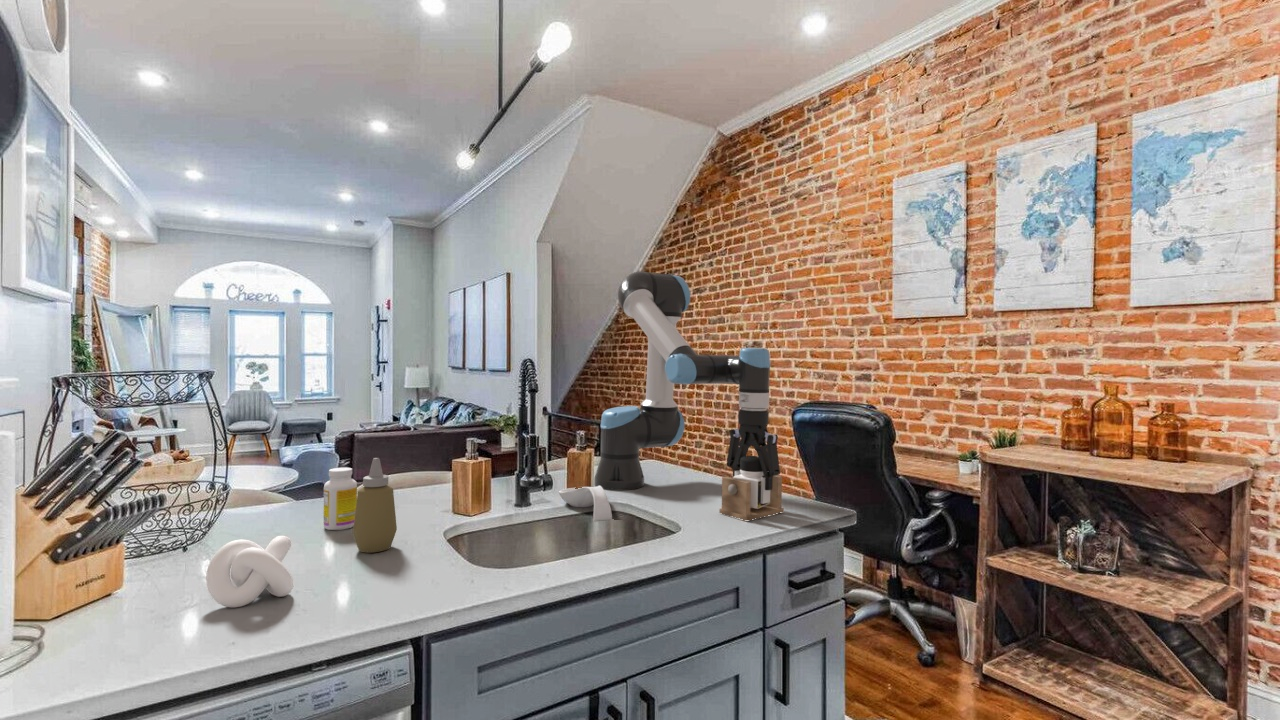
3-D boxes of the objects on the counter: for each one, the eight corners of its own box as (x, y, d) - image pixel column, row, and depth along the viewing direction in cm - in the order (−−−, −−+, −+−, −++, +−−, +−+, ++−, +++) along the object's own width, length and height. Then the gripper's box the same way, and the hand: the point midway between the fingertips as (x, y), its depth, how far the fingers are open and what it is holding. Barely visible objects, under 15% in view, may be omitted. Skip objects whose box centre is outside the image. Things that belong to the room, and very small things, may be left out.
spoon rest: (553, 501, 160) (553, 474, 160) (594, 497, 165) (595, 471, 165) (580, 524, 138) (581, 494, 138) (627, 520, 143) (627, 490, 143)
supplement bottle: (362, 523, 136) (363, 467, 136) (345, 531, 129) (346, 472, 129) (335, 521, 136) (335, 465, 136) (316, 530, 130) (317, 471, 130)
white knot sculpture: (239, 582, 100) (239, 529, 100) (314, 581, 101) (314, 529, 101) (195, 612, 89) (196, 552, 89) (280, 610, 90) (280, 551, 90)
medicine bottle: (758, 509, 145) (759, 460, 145) (732, 504, 150) (733, 456, 150) (770, 503, 151) (771, 456, 151) (745, 499, 155) (746, 453, 155)
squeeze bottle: (380, 557, 114) (381, 463, 114) (343, 553, 115) (344, 460, 115) (405, 544, 122) (406, 456, 121) (369, 541, 123) (371, 454, 123)
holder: (717, 513, 149) (718, 477, 149) (757, 505, 159) (757, 470, 158) (745, 522, 142) (746, 483, 142) (784, 512, 152) (785, 476, 151)
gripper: (713, 406, 156) (711, 493, 156) (777, 413, 140) (775, 510, 140) (732, 405, 161) (731, 489, 161) (797, 412, 144) (795, 505, 145)
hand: (751, 499), depth 150 cm, fingers closed on medicine bottle, 8 cm apart
